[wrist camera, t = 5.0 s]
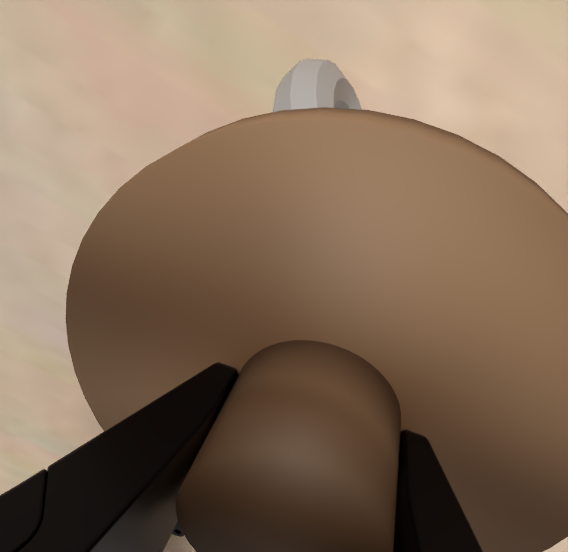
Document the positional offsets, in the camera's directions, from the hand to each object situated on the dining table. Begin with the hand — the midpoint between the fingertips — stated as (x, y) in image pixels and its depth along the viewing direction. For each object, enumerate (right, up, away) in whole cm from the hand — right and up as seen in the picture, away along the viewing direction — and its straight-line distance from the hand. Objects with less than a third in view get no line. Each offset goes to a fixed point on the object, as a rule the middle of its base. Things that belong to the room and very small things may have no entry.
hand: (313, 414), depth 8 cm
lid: (0, +1, +1) cm, 1 cm away
